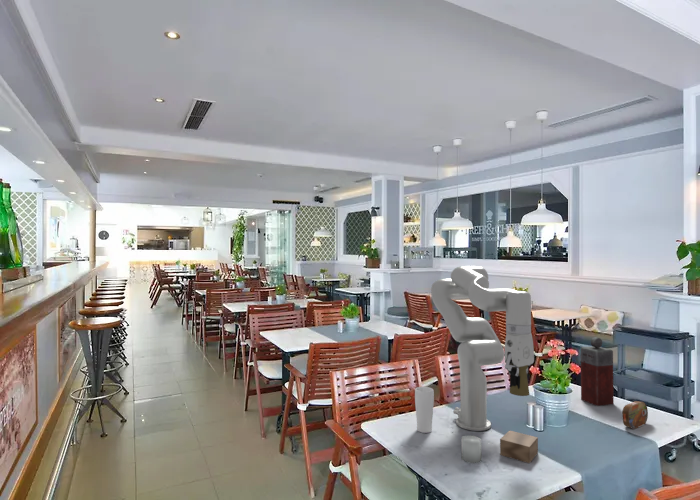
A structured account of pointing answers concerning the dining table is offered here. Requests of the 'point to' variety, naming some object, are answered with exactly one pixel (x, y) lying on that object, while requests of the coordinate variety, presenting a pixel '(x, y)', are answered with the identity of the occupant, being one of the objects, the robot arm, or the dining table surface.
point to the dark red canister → (597, 374)
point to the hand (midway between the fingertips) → (518, 386)
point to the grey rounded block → (471, 449)
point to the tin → (635, 414)
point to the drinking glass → (424, 408)
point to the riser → (519, 446)
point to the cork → (521, 383)
